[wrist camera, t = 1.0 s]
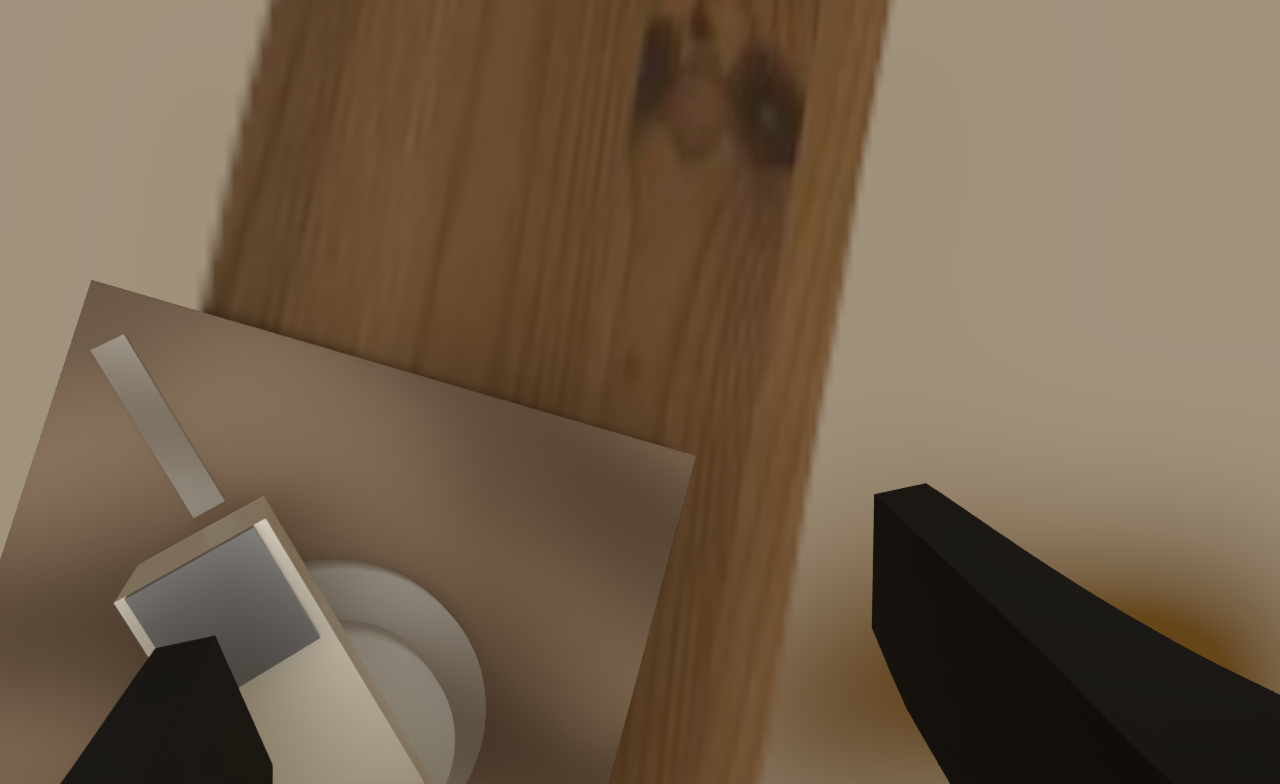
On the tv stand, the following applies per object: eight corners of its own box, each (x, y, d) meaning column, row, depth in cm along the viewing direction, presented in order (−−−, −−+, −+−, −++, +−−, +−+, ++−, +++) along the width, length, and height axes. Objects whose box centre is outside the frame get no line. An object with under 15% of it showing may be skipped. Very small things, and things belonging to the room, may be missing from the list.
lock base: (517, 1031, 26) (549, 1110, 23) (-126, 983, 21) (-183, 1074, 18) (673, 452, 27) (721, 460, 25) (101, 286, 23) (80, 272, 20)
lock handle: (540, 857, 23) (620, 989, 18) (358, 989, 21) (390, 1171, 16) (309, 462, 21) (326, 486, 16) (95, 579, 20) (41, 645, 15)
